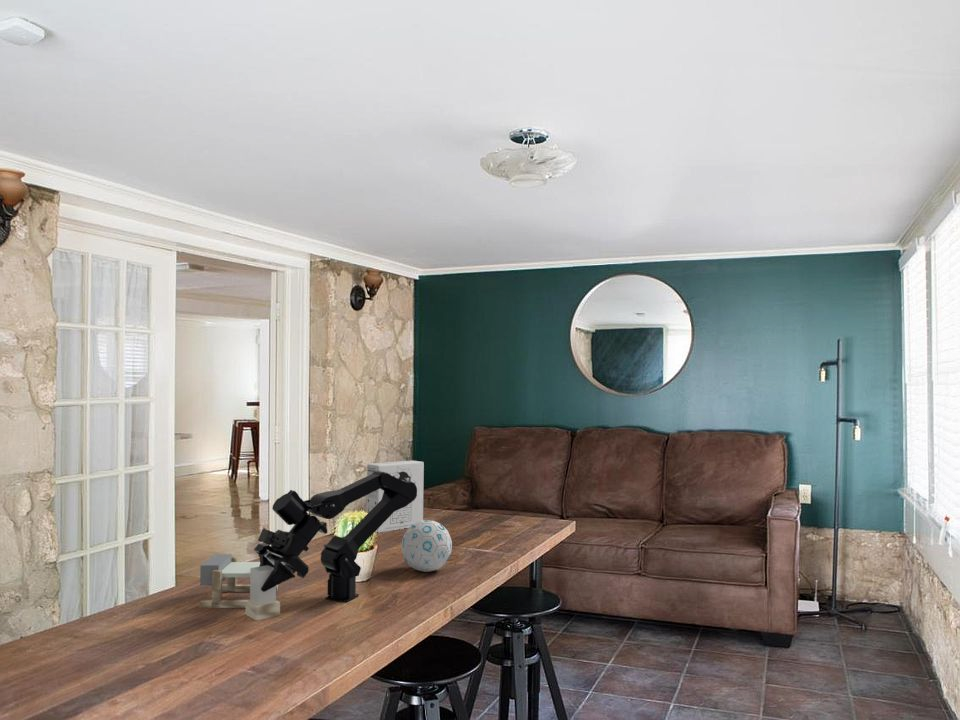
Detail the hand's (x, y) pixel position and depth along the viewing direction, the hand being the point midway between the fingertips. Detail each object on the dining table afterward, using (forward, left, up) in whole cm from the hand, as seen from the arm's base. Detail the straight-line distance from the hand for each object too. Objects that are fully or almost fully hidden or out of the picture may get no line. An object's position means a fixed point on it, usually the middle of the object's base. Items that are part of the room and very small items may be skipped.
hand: (257, 588), depth 185 cm
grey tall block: (-1, -1, -3) cm, 4 cm away
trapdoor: (+13, -10, -2) cm, 17 cm away
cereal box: (+20, -111, -7) cm, 113 cm away
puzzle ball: (-19, -56, -7) cm, 60 cm away
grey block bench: (+13, -10, -7) cm, 18 cm away
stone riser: (-1, -1, -7) cm, 7 cm away
